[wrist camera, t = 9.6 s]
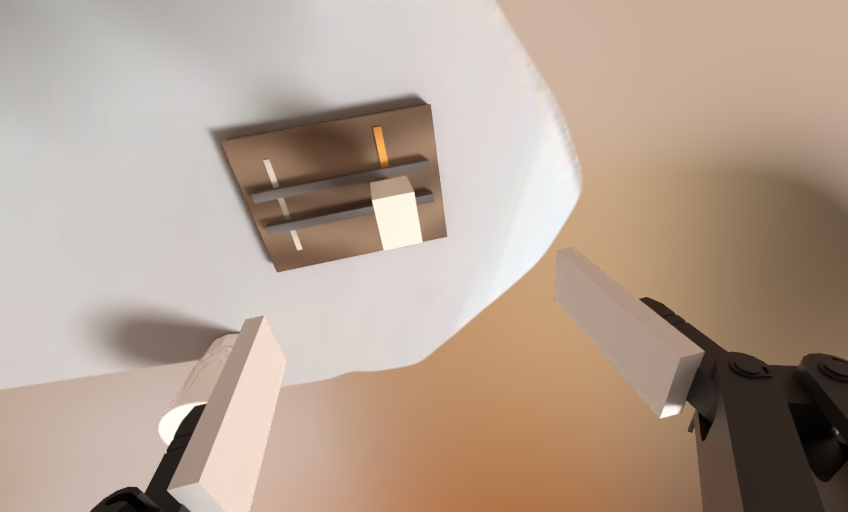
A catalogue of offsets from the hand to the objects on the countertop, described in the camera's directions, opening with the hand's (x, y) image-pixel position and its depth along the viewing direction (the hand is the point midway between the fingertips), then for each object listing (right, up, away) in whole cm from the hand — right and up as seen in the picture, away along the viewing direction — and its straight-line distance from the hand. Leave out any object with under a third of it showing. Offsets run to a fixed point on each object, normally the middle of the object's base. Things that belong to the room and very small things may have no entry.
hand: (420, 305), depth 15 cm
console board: (-7, +9, +18) cm, 21 cm away
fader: (-3, +9, +16) cm, 19 cm away
